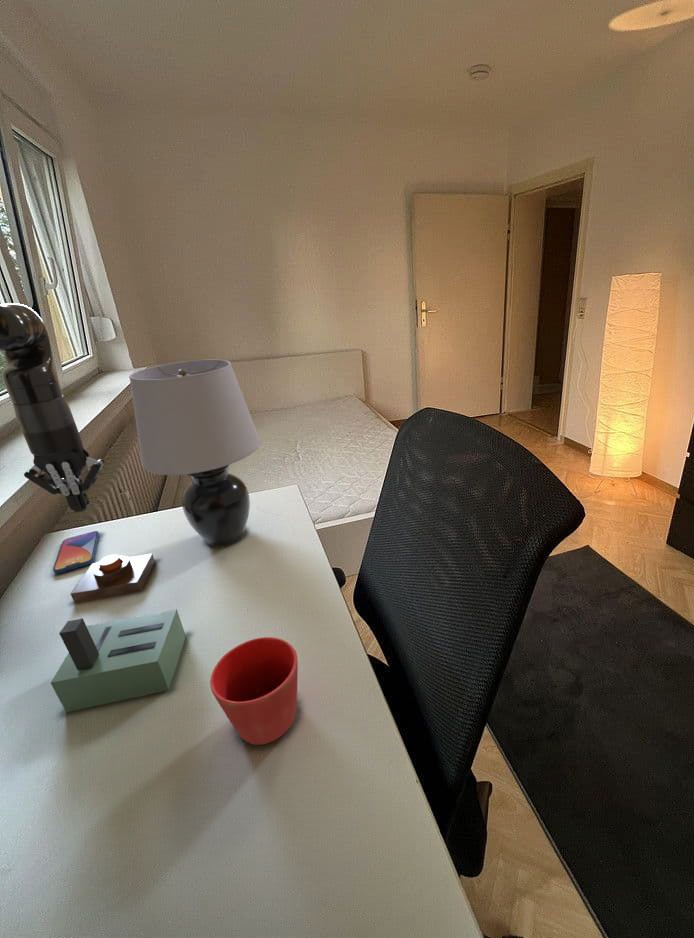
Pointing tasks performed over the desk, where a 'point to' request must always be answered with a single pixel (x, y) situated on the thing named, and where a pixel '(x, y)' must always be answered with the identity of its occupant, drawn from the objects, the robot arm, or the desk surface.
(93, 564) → the box
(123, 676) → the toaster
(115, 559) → the round button
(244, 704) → the flower pot
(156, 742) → the desk surface
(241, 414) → the lamp
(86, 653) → the slide button
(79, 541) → the smartphone
